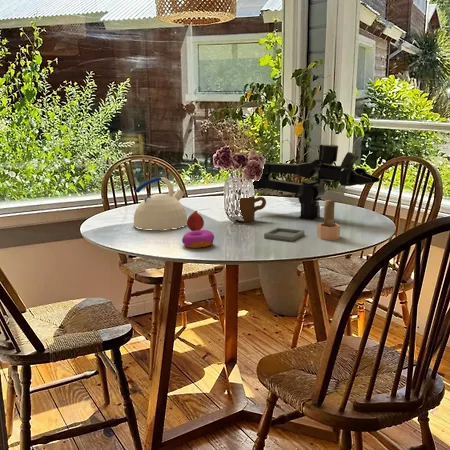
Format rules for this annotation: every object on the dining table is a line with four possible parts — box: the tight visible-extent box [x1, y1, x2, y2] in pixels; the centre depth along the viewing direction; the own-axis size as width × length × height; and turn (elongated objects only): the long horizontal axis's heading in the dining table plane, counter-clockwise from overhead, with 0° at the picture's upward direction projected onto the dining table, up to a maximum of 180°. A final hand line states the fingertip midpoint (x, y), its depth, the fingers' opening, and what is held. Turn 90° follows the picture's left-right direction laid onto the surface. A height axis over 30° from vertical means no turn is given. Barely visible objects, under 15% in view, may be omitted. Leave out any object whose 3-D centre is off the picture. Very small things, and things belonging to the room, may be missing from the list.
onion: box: [187, 210, 205, 232], centre depth 182 cm, size 6×6×8 cm
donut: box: [181, 229, 215, 249], centre depth 166 cm, size 10×10×4 cm
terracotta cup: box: [316, 222, 341, 241], centre depth 172 cm, size 7×7×4 cm
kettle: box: [133, 176, 188, 230], centre depth 194 cm, size 20×21×18 cm
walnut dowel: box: [323, 199, 335, 227], centre depth 171 cm, size 3×3×12 cm
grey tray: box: [263, 227, 305, 243], centre depth 174 cm, size 10×10×2 cm
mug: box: [240, 195, 267, 223], centre depth 200 cm, size 12×8×9 cm, turn 90°
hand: (375, 180), depth 187 cm, fingers open, 9 cm apart
